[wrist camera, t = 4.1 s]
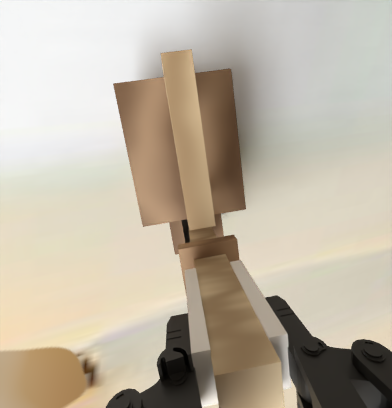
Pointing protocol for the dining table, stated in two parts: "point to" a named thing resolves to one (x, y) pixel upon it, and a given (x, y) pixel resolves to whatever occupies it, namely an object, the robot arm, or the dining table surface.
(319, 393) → the robot arm
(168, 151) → the lid
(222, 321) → the key peg
